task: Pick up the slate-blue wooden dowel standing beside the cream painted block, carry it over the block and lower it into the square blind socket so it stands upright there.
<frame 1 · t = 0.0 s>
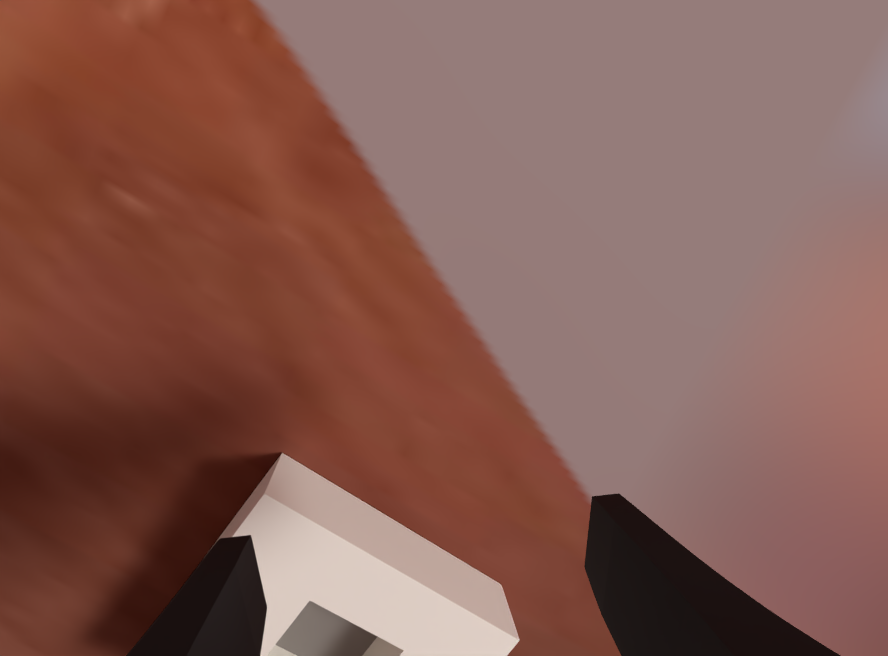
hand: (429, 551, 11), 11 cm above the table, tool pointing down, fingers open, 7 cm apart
bore block: (332, 605, 22), on the table
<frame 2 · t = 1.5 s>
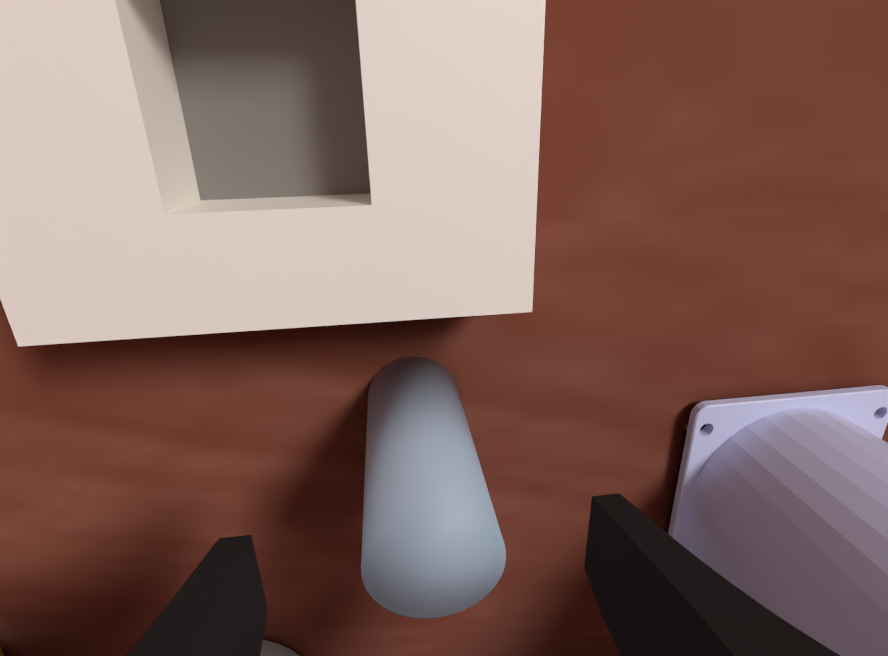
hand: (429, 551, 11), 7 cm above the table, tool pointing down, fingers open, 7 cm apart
bore block: (281, 106, 13), on the table
dowel: (413, 397, 17), on the table
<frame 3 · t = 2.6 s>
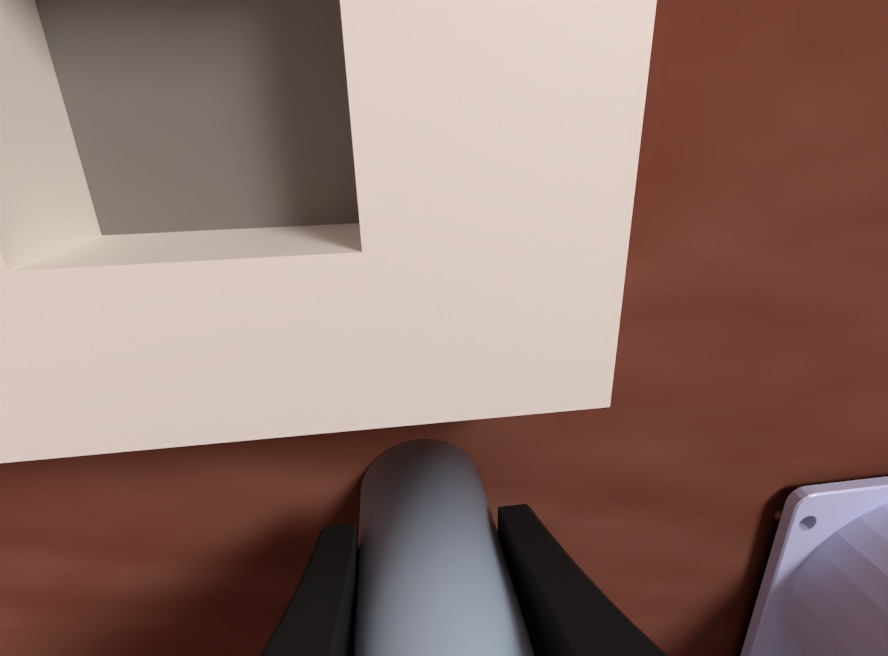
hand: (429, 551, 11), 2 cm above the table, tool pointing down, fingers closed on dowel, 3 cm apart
bore block: (227, 92, 9), on the table
dowel: (421, 490, 12), on the table, touching gripper
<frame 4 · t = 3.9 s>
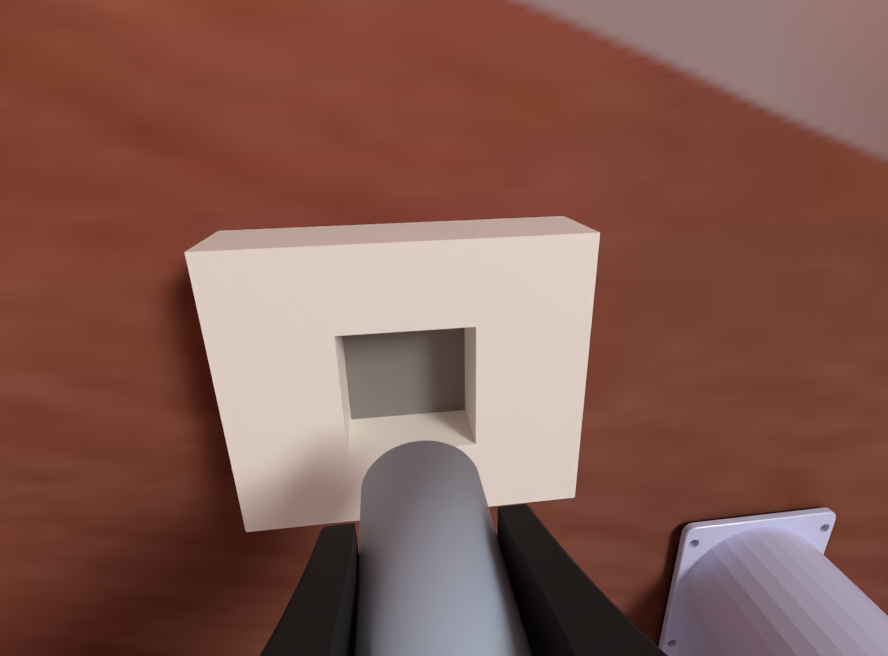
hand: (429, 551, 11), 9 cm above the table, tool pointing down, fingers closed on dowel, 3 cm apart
bore block: (404, 353, 19), on the table
dowel: (421, 490, 12), point 7 cm above the table, touching gripper
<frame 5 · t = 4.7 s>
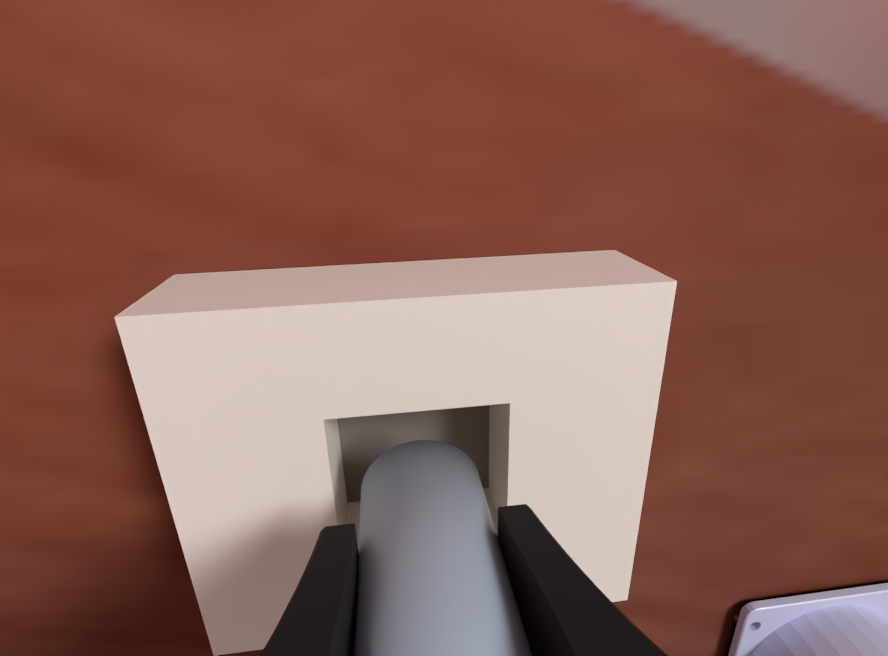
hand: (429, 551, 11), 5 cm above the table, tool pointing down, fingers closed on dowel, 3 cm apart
bore block: (413, 418, 15), on the table
dowel: (421, 490, 12), point 3 cm above the table, touching gripper
when the fingers open (4 cm above the table, at t = 5.3 s): dowel stays where it is, resting on bore block.
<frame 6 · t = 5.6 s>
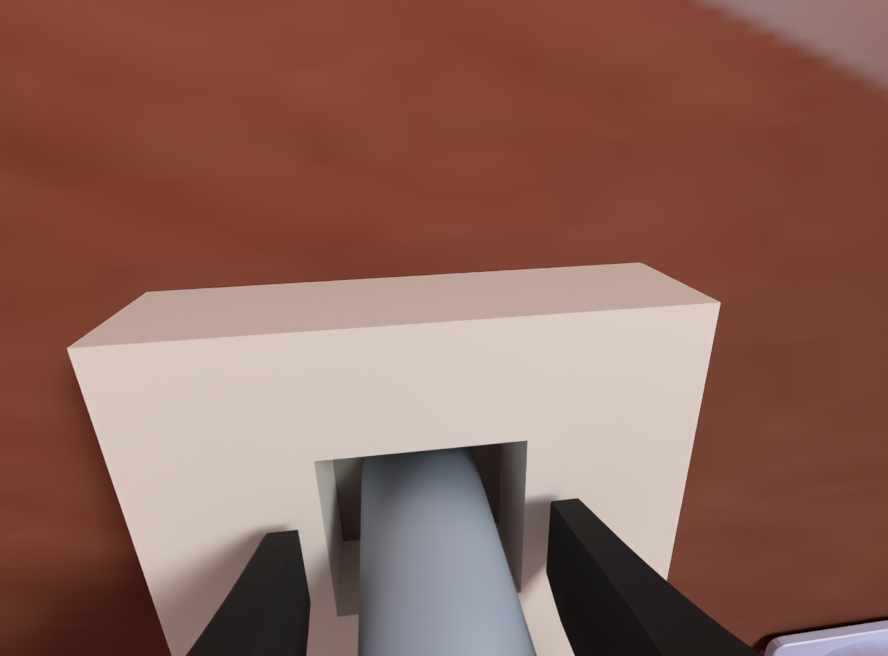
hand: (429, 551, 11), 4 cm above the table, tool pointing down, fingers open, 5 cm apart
bore block: (416, 448, 14), on the table
dowel: (419, 471, 13), point 1 cm above the table, touching bore block
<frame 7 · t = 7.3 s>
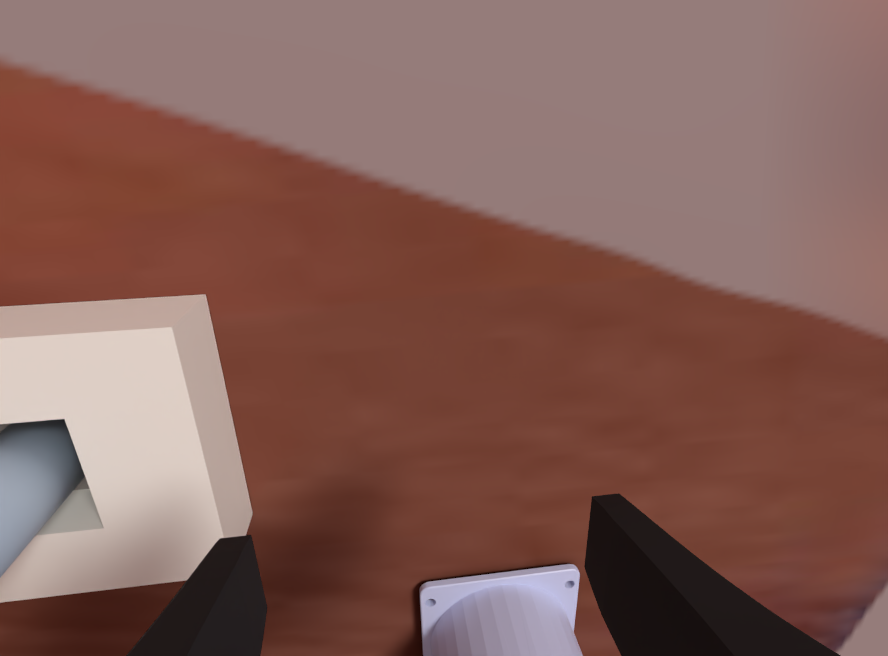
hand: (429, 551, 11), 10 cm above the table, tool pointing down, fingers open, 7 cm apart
bore block: (68, 428, 19), on the table
dowel: (55, 443, 18), point 1 cm above the table, touching bore block
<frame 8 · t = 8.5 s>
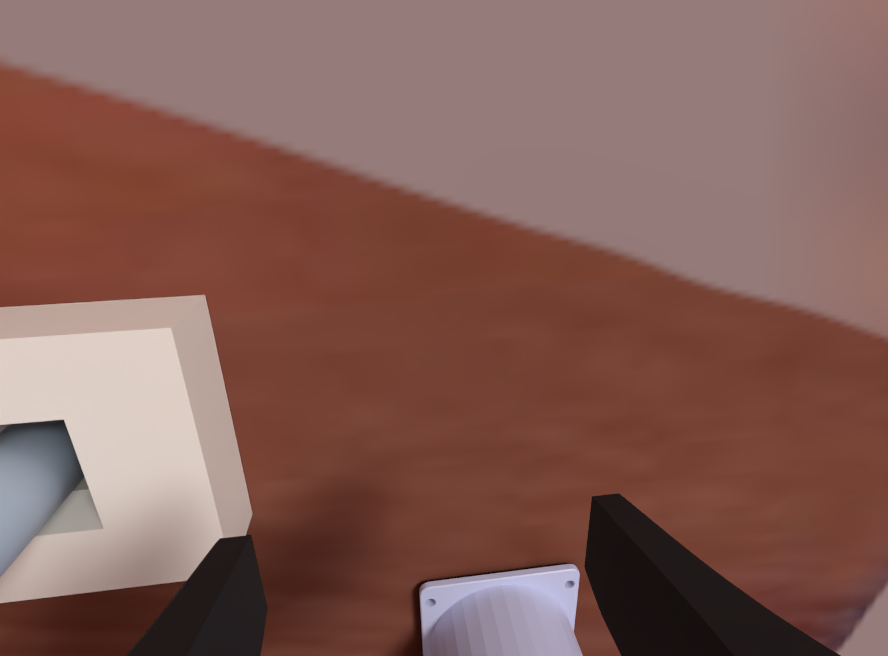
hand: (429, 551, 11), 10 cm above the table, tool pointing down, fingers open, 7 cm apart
bore block: (68, 429, 19), on the table
dowel: (55, 444, 18), point 1 cm above the table, touching bore block
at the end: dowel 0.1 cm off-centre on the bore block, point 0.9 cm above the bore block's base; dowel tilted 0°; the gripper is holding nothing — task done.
